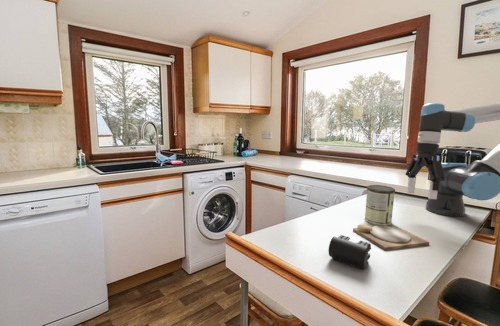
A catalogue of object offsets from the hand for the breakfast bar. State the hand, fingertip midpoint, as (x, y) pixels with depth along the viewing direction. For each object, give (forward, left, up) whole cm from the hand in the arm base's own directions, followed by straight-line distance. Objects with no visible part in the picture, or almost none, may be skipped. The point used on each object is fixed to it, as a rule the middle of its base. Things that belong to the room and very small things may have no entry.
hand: (420, 195), depth 110 cm
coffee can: (+14, -6, -12) cm, 19 cm away
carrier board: (+22, +9, -12) cm, 27 cm away
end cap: (+47, +21, -12) cm, 53 cm away
